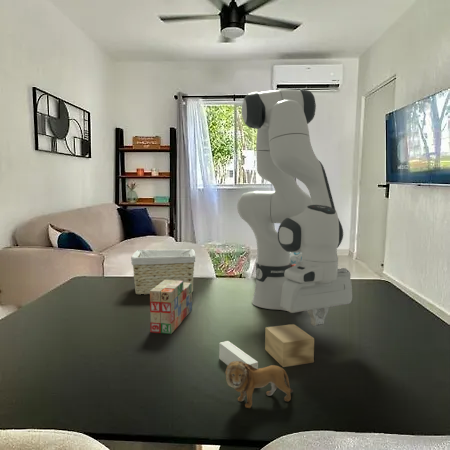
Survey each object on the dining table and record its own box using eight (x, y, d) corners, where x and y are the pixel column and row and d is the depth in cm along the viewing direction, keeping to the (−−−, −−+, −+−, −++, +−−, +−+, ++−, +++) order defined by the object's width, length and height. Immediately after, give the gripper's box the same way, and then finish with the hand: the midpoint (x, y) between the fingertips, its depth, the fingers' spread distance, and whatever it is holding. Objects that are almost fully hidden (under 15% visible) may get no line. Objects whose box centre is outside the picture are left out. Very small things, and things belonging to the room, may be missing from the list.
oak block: (293, 346, 104) (294, 324, 103) (313, 363, 95) (314, 338, 94) (265, 350, 101) (265, 327, 101) (282, 367, 92) (283, 342, 91)
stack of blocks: (173, 308, 133) (173, 272, 132) (192, 310, 132) (192, 273, 131) (150, 332, 112) (149, 290, 111) (171, 334, 111) (171, 291, 110)
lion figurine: (232, 417, 72) (232, 369, 71) (220, 402, 77) (220, 357, 76) (299, 399, 78) (301, 355, 78) (284, 386, 83) (285, 345, 82)
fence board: (228, 356, 97) (228, 340, 97) (257, 379, 86) (258, 362, 85) (219, 358, 96) (219, 342, 96) (248, 382, 85) (248, 364, 84)
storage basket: (130, 296, 148) (129, 256, 146) (136, 284, 164) (135, 248, 162) (195, 294, 150) (195, 255, 148) (195, 283, 166) (195, 248, 164)
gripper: (341, 265, 107) (339, 315, 109) (278, 271, 98) (277, 326, 99) (359, 269, 102) (357, 322, 103) (294, 276, 92) (293, 335, 94)
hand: (317, 324), depth 101 cm, fingers closed
